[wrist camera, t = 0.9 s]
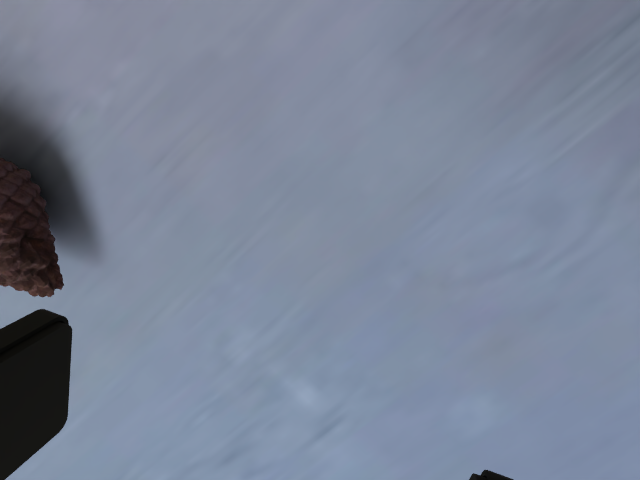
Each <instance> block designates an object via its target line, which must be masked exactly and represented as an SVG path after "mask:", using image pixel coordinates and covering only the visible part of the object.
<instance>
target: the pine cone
mask: <svg viewBox="0 0 640 480" xmlns="http://www.w3.org/2000/svg"><path fill="white" fill-rule="evenodd" d="M30 178H31V174H30V172H29V171H27V170H25V169H19V168H18V167H17V166H16V165H15V164H13V163H12V162H8V161H5V160H4V159H3V158H0V285H2V286H5V287H6V286H11V287H13V288H14V289H15V290H18V291H22V290H24V291H28V292H29V294H30V295H32V296H37V295H39V296H40V297H45V296H48V297H51V296H52V295H54V290H55V289H60V290H61V289H62V287H63V285H64V284H63V278H62V274H61V273H60V267H59V265H58V264H57V262H58V255H57V254H56V253H55V246H54V241H55V238H54V236H53V235H52V234H51V231H50V230H49V228H50V225H49V223H48V219H49V215H48V214H47V213H46V212H45V206H46V200H44V199H43V198H42V197H41V196H40V192H41V188H40V187H39V185H37V184H35V183H32V182H31V181H30Z"/></svg>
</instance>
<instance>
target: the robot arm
mask: <svg viewBox="0 0 640 480" xmlns="http://www.w3.org/2000/svg"><path fill="white" fill-rule="evenodd" d="M71 344H72V328H71V326H69V324H68V320H67V318H65V317H64V316H61V315H58V314H56V313H53V312H50V311H47V310H45V309H40V310H37V311H34V312H33V313H31V314H29V315H27V316H25V317H23V318H21V319H19V320H17V321H15V322H13V323H11V324H9V325H7V326H5V327H4V328H2V329H0V480H5V479H6V478H7V477H8V476H9V475H11V474H12V473H13V472H14V471H15V470H16V469H18V468H19V467H20V466H21V465H22V464H23V463H24V462H26V461H27V460H28V459H29V458H30V457H31V456H32V455H34V454H35V453H36V452H37V451H38V450H39V449H40V448H42V447H43V446H44V445H45V444H46V443H47V442H49V441H50V440H51V439H52V438H53V437H54V436H55V435H57V434H58V433H59V432H60V431H61V429H62V428H63V427H64V425H65V423H66V420H67V417H68V400H69V381H70V363H71ZM469 480H513V479H511V478H508V477H505V476H502V475H500V474H497V473H494V472H491V471H488V470H484V471H483V472H482V474H481V476H480V475H477V474H472V475H471V477H470V479H469Z"/></svg>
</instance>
